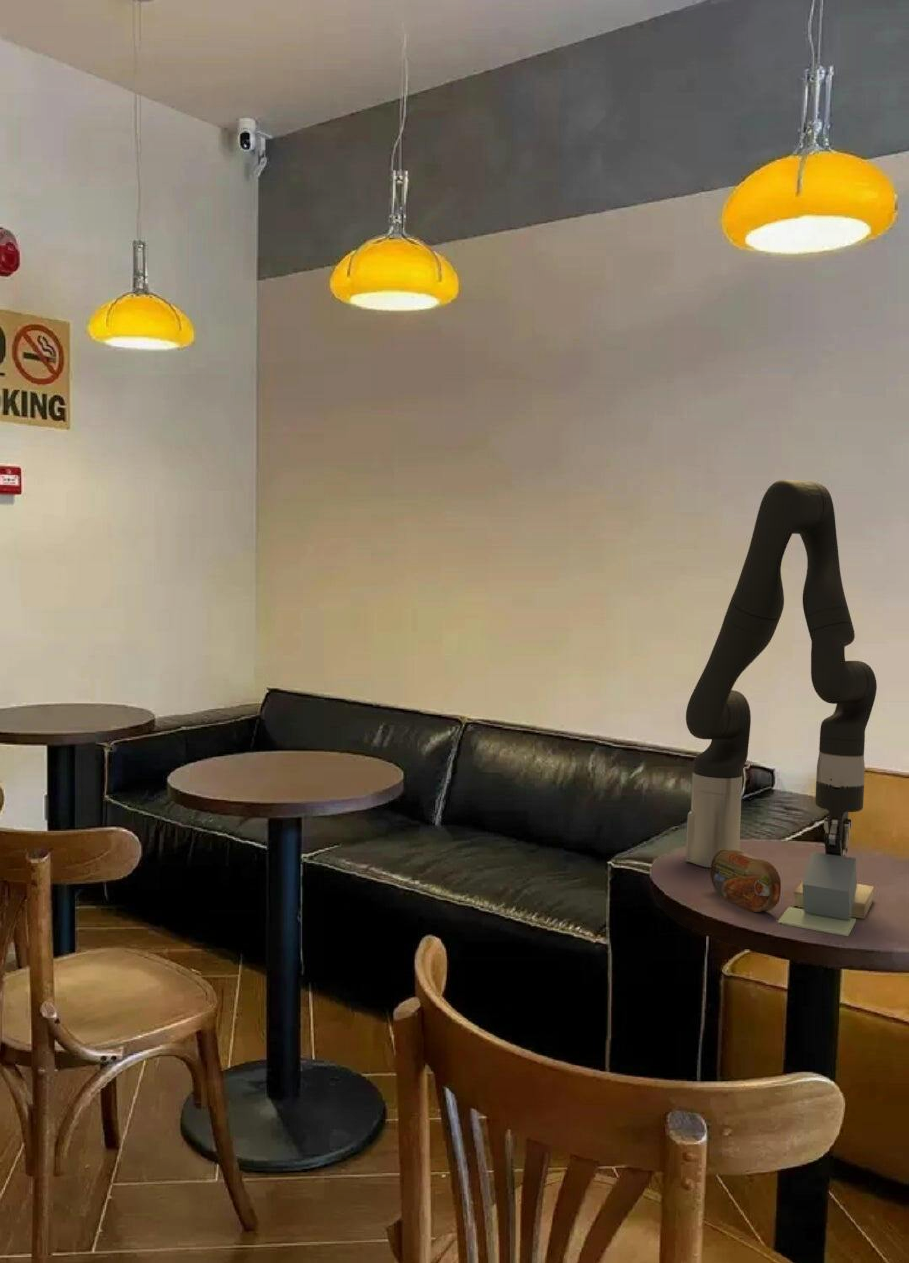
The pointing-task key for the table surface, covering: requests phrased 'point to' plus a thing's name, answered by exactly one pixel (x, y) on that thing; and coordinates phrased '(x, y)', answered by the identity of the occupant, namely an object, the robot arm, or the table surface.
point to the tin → (745, 880)
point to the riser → (859, 906)
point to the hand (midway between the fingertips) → (835, 882)
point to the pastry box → (830, 885)
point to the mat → (817, 922)
